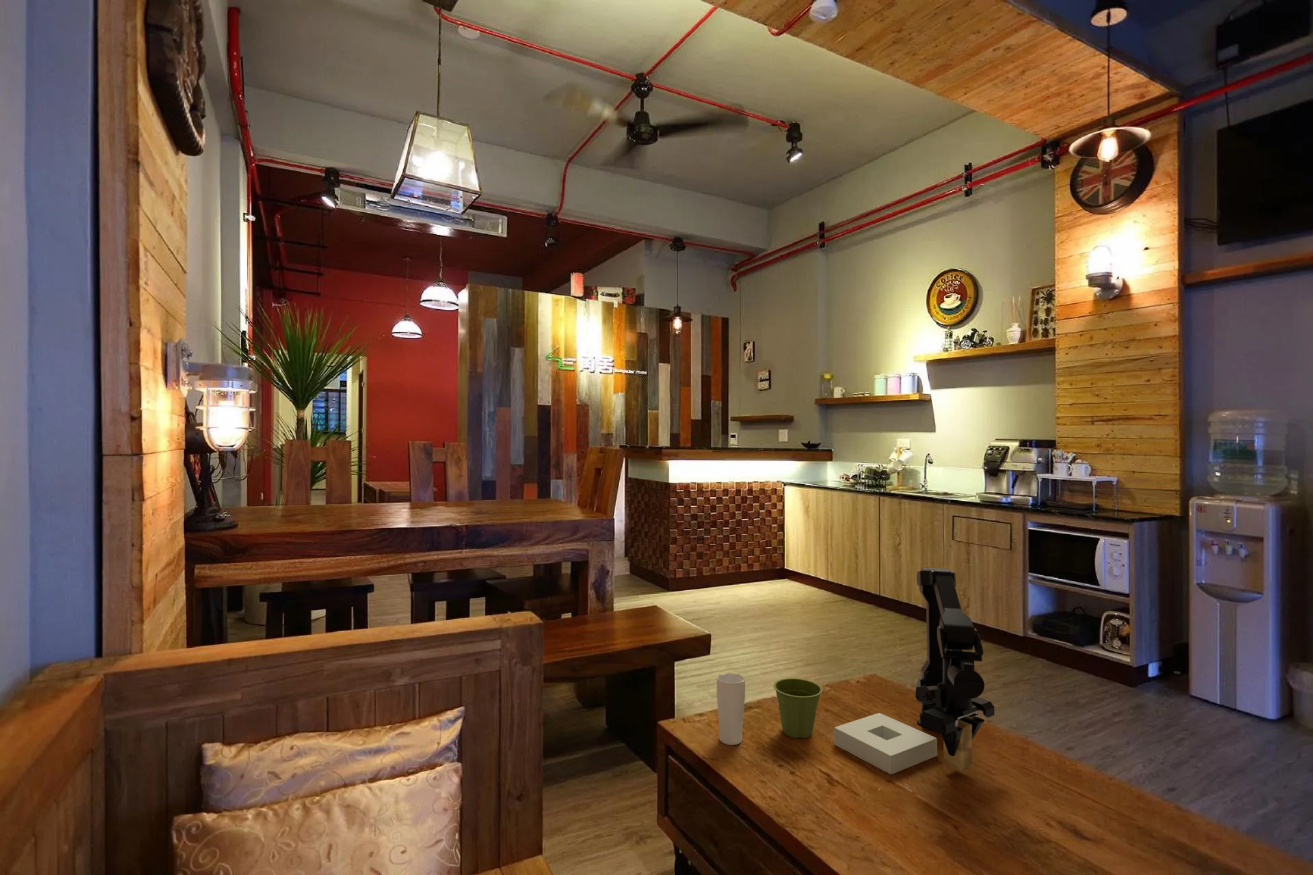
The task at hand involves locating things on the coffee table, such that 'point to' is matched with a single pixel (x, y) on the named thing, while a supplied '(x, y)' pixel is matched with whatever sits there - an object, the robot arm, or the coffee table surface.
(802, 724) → the plant pot
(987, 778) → the coffee table surface
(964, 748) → the peg
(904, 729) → the socket block
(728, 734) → the drinking glass
